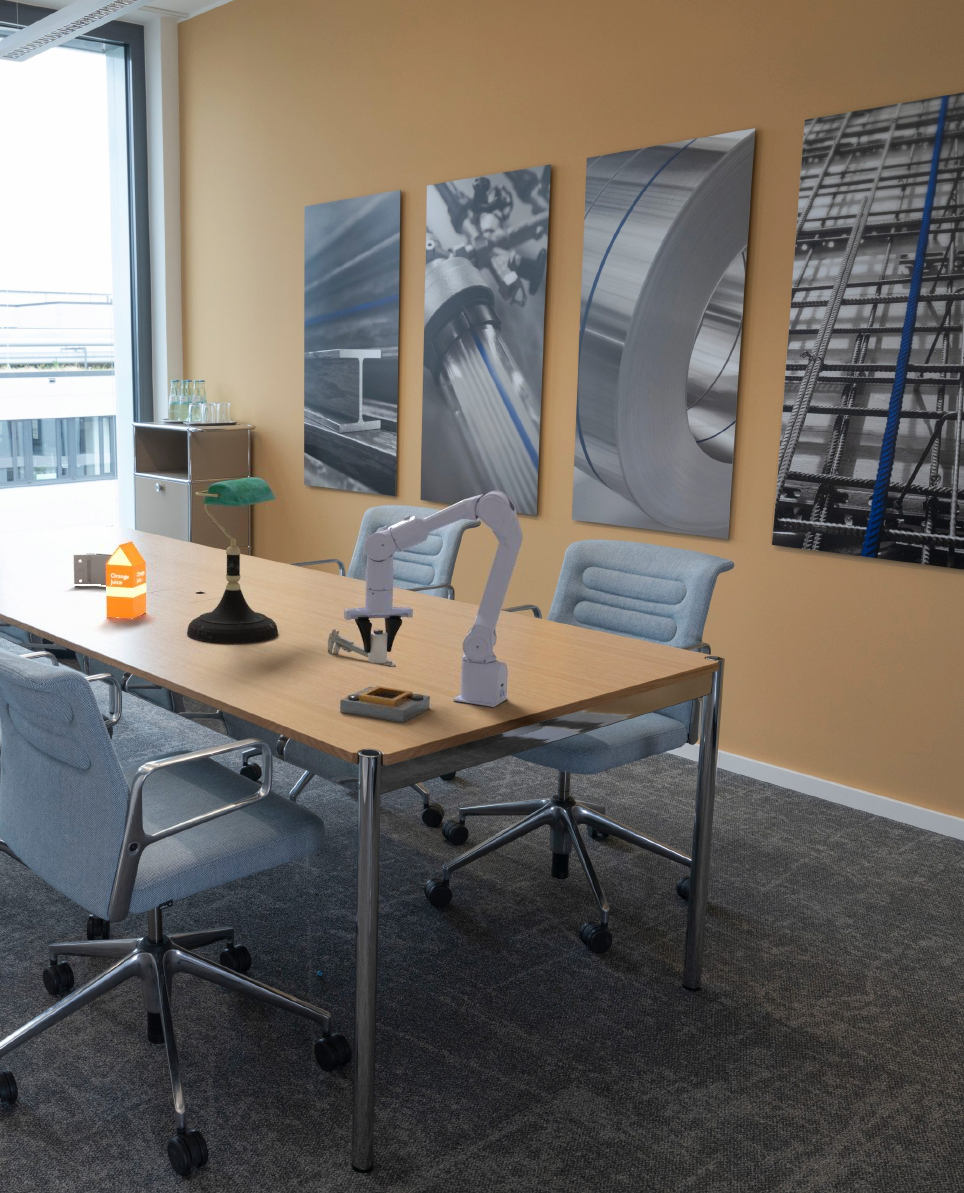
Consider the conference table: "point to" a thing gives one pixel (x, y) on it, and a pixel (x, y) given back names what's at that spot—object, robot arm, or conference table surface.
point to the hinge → (90, 568)
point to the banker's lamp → (234, 574)
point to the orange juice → (126, 582)
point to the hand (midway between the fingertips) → (377, 651)
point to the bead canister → (378, 647)
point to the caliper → (348, 646)
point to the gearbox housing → (385, 703)
